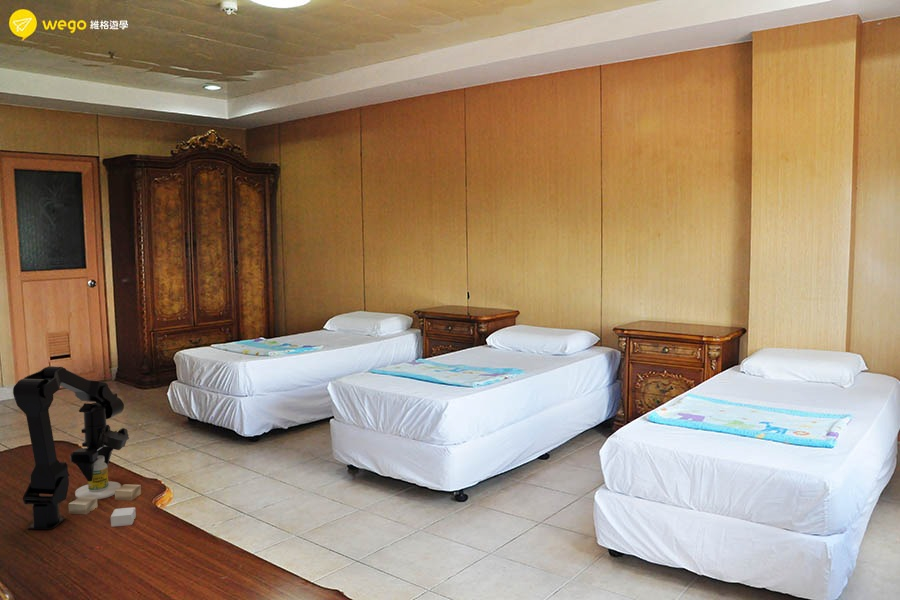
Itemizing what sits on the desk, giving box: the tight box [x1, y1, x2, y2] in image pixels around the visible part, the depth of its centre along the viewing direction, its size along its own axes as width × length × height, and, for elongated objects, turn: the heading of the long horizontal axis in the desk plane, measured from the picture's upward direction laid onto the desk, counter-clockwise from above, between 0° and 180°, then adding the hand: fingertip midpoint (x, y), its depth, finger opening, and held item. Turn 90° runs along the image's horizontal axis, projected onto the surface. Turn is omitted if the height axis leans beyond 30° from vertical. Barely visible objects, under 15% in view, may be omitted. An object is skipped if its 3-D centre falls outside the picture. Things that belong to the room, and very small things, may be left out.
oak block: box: [114, 483, 142, 502], centre depth 196 cm, size 5×5×3 cm
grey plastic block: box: [110, 507, 137, 528], centre depth 180 cm, size 5×5×3 cm
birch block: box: [68, 497, 98, 516], centre depth 187 cm, size 5×5×3 cm
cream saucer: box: [74, 480, 122, 500], centre depth 200 cm, size 12×12×1 cm
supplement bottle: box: [87, 456, 109, 492], centre depth 199 cm, size 5×5×10 cm
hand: (97, 475), depth 199 cm, fingers open, 9 cm apart
